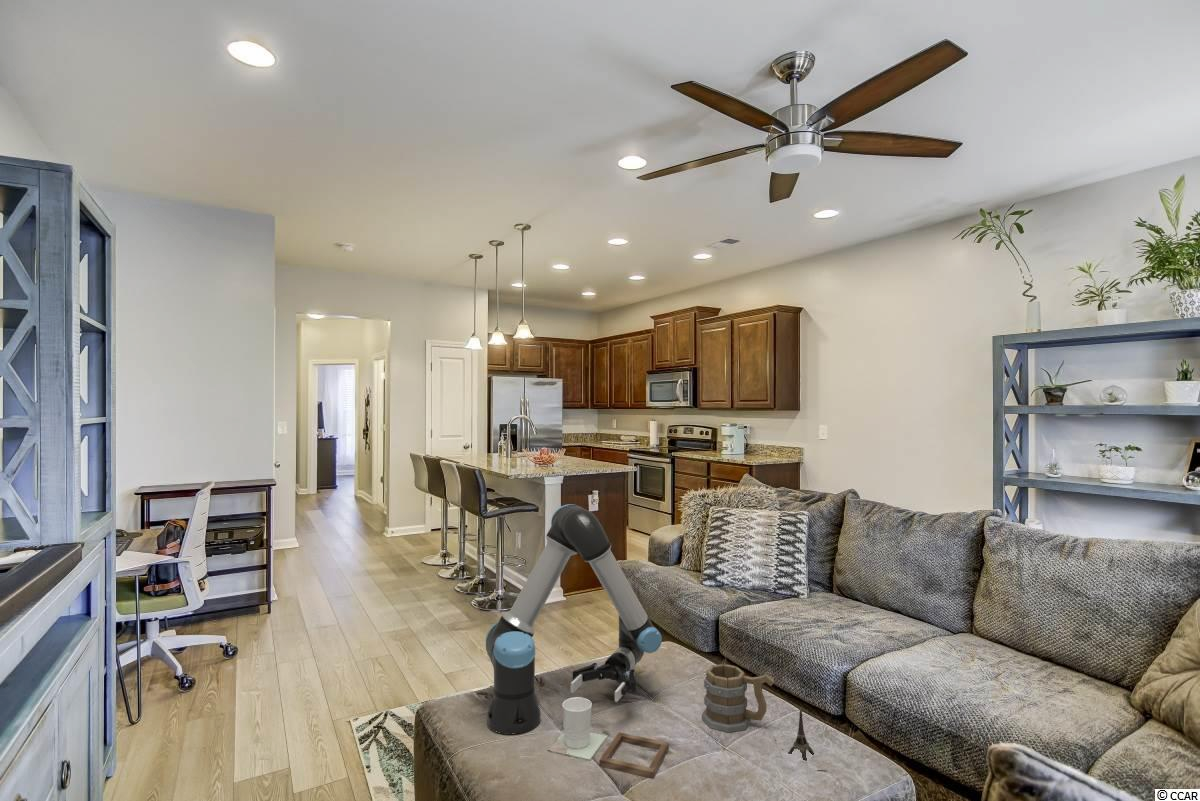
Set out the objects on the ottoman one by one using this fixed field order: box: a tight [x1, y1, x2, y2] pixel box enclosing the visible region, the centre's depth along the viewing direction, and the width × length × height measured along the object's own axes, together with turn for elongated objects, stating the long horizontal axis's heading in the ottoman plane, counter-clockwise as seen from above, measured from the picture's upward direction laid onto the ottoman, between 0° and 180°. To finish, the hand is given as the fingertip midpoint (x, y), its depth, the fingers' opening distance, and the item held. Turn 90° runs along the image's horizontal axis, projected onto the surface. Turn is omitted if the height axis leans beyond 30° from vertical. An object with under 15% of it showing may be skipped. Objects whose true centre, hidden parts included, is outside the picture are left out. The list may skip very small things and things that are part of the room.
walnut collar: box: [598, 731, 670, 779], centre depth 149 cm, size 14×14×2 cm
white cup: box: [561, 696, 593, 749], centre depth 156 cm, size 8×8×10 cm
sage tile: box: [556, 731, 608, 762], centre depth 155 cm, size 12×12×1 cm
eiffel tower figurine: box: [787, 707, 828, 772], centre depth 151 cm, size 15×10×13 cm
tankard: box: [701, 663, 775, 733], centre depth 166 cm, size 20×13×15 cm, turn 62°
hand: (593, 692), depth 165 cm, fingers open, 13 cm apart
